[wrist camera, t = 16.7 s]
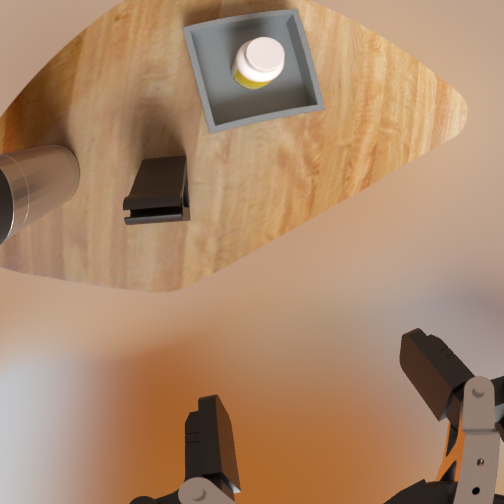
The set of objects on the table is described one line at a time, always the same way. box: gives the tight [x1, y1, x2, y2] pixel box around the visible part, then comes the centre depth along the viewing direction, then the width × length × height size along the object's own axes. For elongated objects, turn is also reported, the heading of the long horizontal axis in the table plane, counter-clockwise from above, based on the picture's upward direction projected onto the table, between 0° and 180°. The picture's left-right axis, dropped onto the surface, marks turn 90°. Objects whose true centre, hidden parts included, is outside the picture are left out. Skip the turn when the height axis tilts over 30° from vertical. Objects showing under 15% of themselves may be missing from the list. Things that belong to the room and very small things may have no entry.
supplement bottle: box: [231, 37, 285, 90], centre depth 30 cm, size 5×5×10 cm
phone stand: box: [123, 156, 190, 225], centre depth 34 cm, size 9×6×12 cm, turn 0°
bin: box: [182, 9, 325, 134], centre depth 33 cm, size 15×15×4 cm
